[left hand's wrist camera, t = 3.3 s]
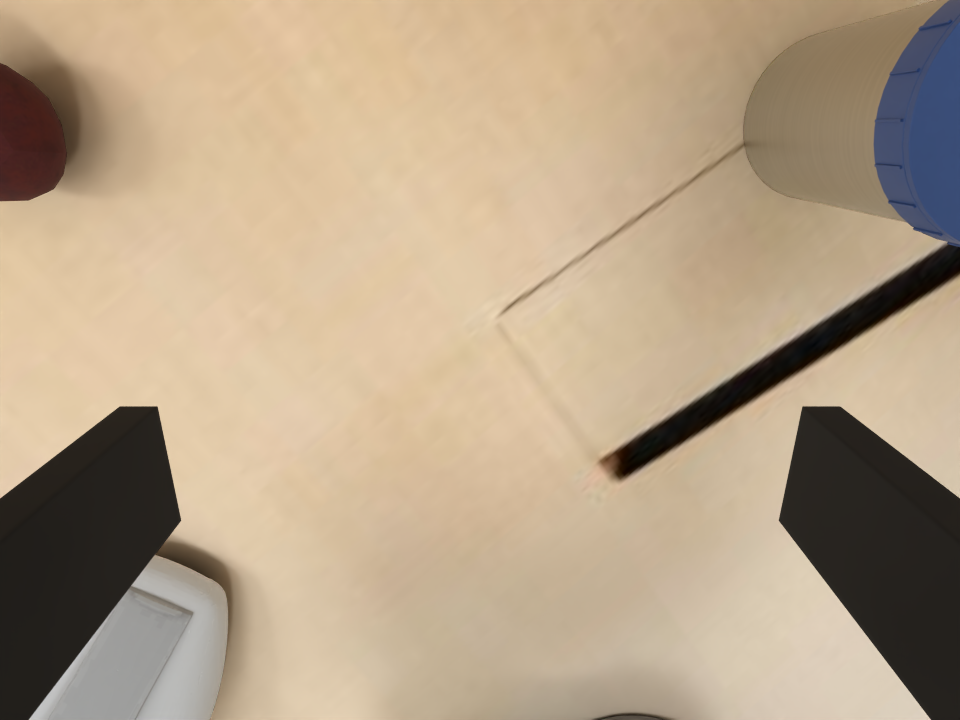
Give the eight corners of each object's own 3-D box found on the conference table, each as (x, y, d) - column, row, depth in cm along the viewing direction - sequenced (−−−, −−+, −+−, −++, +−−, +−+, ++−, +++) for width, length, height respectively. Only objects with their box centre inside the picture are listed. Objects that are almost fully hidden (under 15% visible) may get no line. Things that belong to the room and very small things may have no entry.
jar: (833, -8, 34) (1091, -108, 20) (934, 107, 36) (1234, 92, 22) (710, 130, 37) (859, 130, 22) (811, 229, 39) (1007, 289, 24)
